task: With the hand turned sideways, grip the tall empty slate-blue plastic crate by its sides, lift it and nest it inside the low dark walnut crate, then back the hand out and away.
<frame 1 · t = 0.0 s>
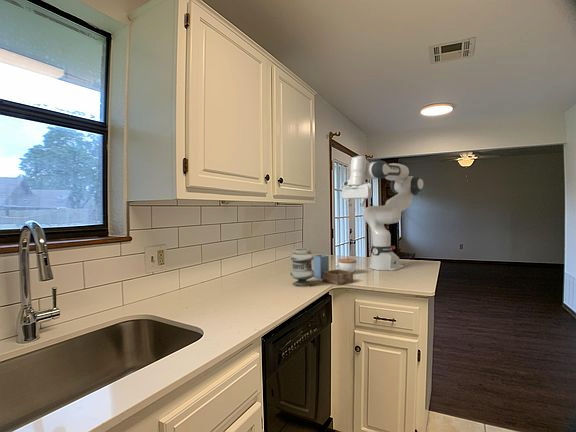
hand: (355, 206, 190), 39 cm above the worktop, tool pointing down, fingers open, 8 cm apart
walnut crate: (337, 281, 171), on the worktop
apothecary jar: (302, 284, 166), on the worktop
slate crate: (321, 277, 181), on the worktop
lidded jar: (347, 273, 192), on the worktop
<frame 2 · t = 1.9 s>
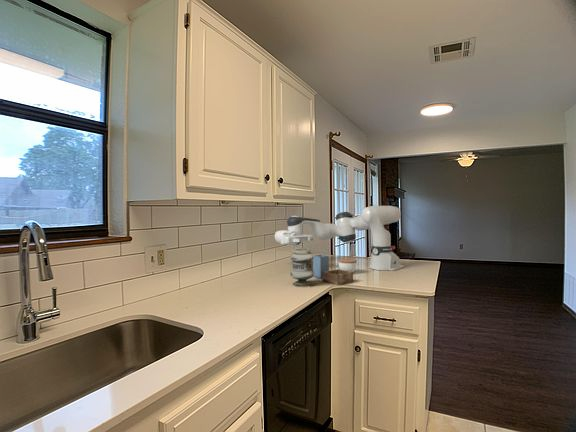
hand: (306, 239, 191), 20 cm above the worktop, tool horizontal, fingers open, 8 cm apart
nothing on the worktop moved.
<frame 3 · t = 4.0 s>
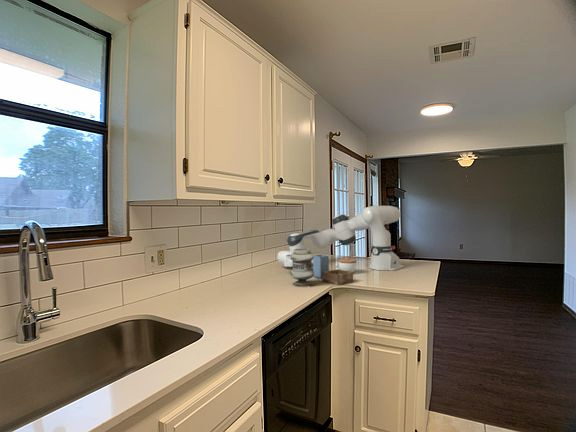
hand: (310, 262, 188), 7 cm above the worktop, tool horizontal, fingers open, 8 cm apart
nothing on the worktop moved.
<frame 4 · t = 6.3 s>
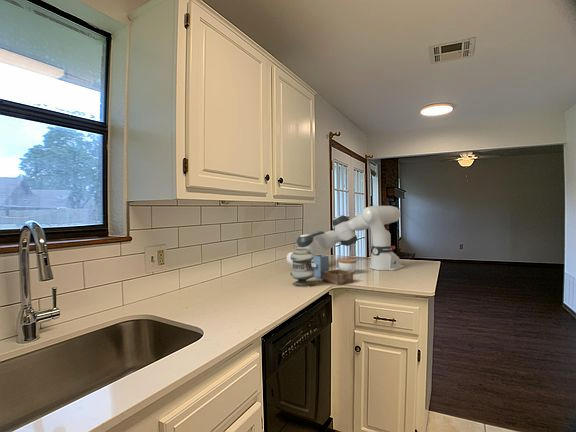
hand: (322, 264, 180), 7 cm above the worktop, tool horizontal, fingers closed on slate crate, 6 cm apart
slate crate: (321, 277, 181), on the worktop, touching gripper
everything else where it was.
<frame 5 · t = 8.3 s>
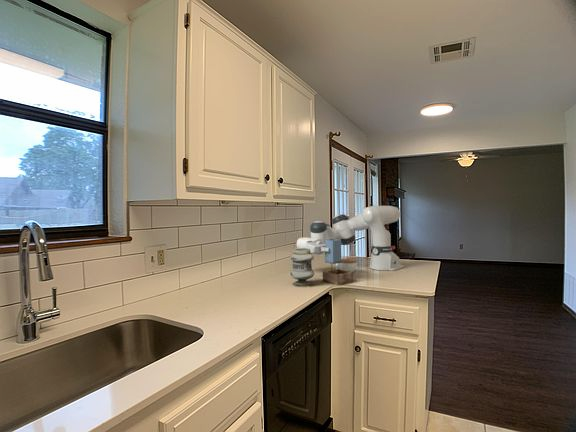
hand: (334, 249, 172), 17 cm above the worktop, tool horizontal, fingers closed on slate crate, 6 cm apart
slate crate: (333, 262, 173), point 10 cm above the worktop, touching gripper
everything else where it was.
when the fingers open (10 cm above the worktop, at t = 10.8 s): slate crate drops 1 cm, resting on walnut crate.
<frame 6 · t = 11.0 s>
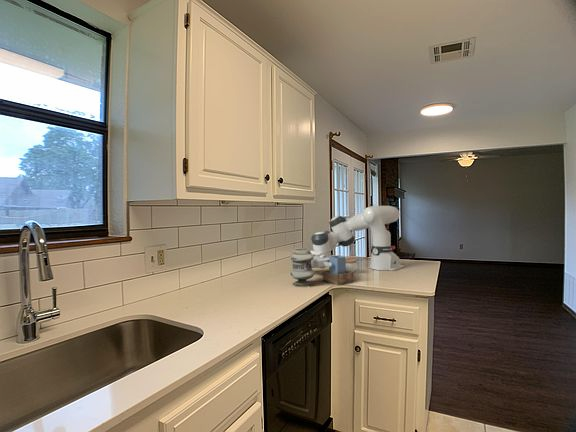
hand: (338, 263, 170), 10 cm above the worktop, tool horizontal, fingers open, 8 cm apart
slate crate: (337, 279, 171), point 1 cm above the worktop, touching walnut crate
everything else where it was.
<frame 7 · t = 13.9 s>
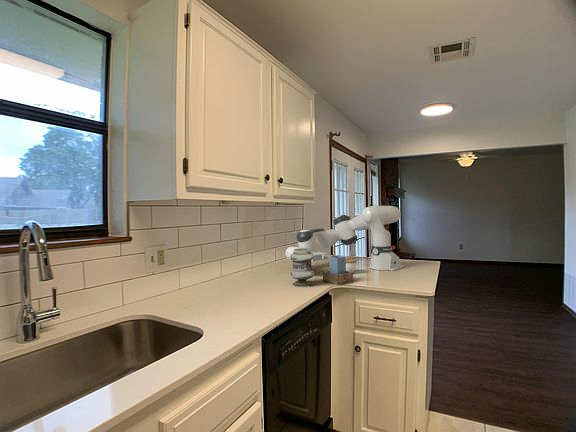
hand: (320, 258, 181), 10 cm above the worktop, tool horizontal, fingers open, 8 cm apart
nothing on the worktop moved.
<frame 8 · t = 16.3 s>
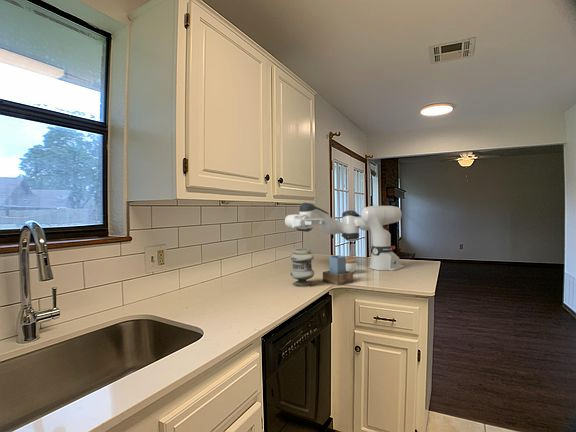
hand: (318, 222, 188), 30 cm above the worktop, tool horizontal, fingers open, 8 cm apart
nothing on the worktop moved.
at the end: slate crate 0.1 cm off-centre on the walnut crate, point 1.0 cm above the walnut crate's base; slate crate tilted 0°; the gripper is holding nothing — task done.
